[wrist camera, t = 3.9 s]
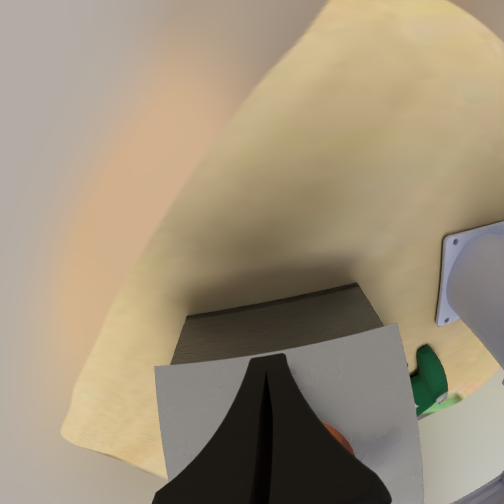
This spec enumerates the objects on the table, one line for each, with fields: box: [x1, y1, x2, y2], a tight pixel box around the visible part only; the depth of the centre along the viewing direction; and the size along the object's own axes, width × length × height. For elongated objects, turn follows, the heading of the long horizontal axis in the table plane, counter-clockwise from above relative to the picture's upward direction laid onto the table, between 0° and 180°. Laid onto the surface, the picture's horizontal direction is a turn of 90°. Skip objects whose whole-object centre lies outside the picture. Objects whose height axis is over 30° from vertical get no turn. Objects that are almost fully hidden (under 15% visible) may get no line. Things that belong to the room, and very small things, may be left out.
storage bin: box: [170, 283, 408, 366], centre depth 19 cm, size 16×12×6 cm
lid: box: [154, 323, 424, 504], centre depth 11 cm, size 13×13×1 cm
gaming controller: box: [410, 346, 448, 416], centre depth 22 cm, size 9×4×6 cm
